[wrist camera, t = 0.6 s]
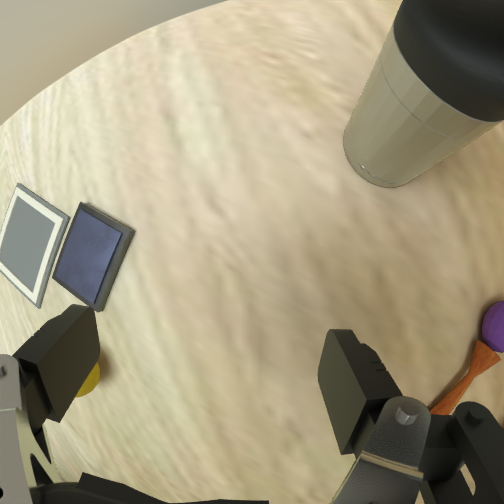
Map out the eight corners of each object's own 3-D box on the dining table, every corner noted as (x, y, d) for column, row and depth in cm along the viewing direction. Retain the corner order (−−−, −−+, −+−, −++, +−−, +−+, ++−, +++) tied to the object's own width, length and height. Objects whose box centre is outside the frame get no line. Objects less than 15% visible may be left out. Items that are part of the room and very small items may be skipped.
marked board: (19, 183, 33) (16, 182, 33) (70, 217, 32) (66, 216, 32) (-6, 262, 34) (-10, 262, 33) (40, 308, 32) (36, 308, 32)
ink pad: (86, 203, 32) (79, 201, 31) (135, 231, 31) (129, 230, 30) (57, 277, 32) (50, 277, 31) (102, 310, 31) (95, 312, 30)
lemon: (108, 343, 31) (68, 362, 23) (114, 386, 31) (78, 412, 23) (73, 338, 32) (31, 353, 24) (79, 379, 32) (41, 400, 24)
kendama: (399, 443, 24) (514, 291, 22) (392, 420, 30) (491, 289, 28) (432, 463, 23) (541, 321, 21) (422, 440, 28) (517, 315, 26)
